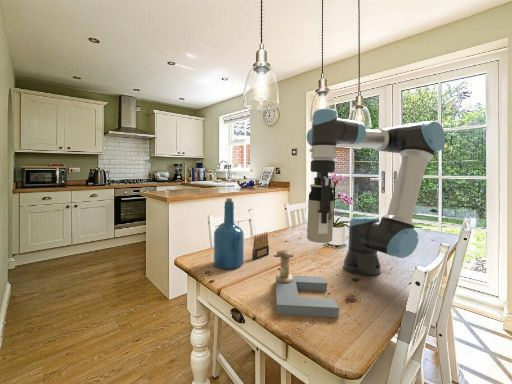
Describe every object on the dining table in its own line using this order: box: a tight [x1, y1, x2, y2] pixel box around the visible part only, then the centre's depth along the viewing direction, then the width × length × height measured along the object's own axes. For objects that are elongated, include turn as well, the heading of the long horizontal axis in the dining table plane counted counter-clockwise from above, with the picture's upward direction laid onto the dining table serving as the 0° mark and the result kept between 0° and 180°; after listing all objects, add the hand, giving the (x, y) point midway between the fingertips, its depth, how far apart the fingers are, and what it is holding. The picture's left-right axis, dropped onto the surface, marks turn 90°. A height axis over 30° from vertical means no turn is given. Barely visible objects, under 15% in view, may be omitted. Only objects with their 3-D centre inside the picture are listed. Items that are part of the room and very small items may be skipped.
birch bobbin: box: [275, 249, 294, 283], centre depth 93 cm, size 6×6×10 cm
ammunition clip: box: [251, 231, 270, 261], centre depth 126 cm, size 11×2×12 cm, turn 139°
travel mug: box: [306, 183, 335, 244], centre depth 83 cm, size 8×8×18 cm
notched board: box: [275, 274, 340, 319], centre depth 86 cm, size 18×22×3 cm
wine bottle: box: [213, 197, 245, 270], centre depth 114 cm, size 14×13×30 cm
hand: (319, 230), depth 84 cm, fingers closed on travel mug, 8 cm apart
